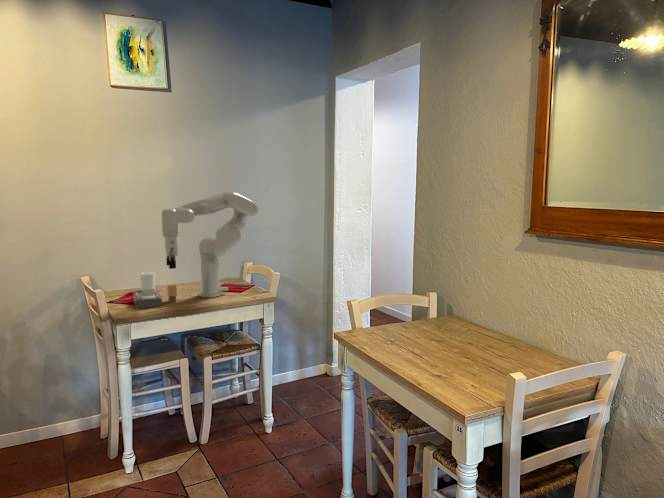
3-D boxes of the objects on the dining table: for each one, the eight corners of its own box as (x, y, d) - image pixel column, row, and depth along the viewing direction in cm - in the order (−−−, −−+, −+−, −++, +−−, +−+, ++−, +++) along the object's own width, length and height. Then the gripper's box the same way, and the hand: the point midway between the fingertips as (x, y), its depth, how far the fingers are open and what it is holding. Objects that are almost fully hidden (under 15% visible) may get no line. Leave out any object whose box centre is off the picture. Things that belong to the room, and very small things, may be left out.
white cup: (158, 289, 274) (157, 272, 272) (151, 292, 266) (151, 274, 264) (145, 288, 274) (144, 271, 273) (138, 291, 267) (137, 274, 265)
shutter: (154, 295, 243) (154, 288, 242) (156, 298, 237) (155, 291, 236) (140, 296, 240) (140, 289, 239) (141, 299, 234) (141, 292, 234)
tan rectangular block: (175, 299, 252) (175, 283, 251) (176, 301, 248) (176, 284, 247) (167, 300, 250) (167, 283, 249) (168, 302, 247) (168, 285, 245)
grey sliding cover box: (158, 298, 254) (157, 290, 253) (161, 306, 240) (161, 297, 239) (133, 300, 249) (133, 291, 248) (136, 308, 234) (135, 299, 234)
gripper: (180, 235, 238) (181, 269, 241) (175, 231, 253) (176, 263, 256) (164, 235, 235) (165, 270, 237) (160, 231, 250) (161, 264, 253)
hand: (171, 266), depth 247 cm, fingers open, 9 cm apart
